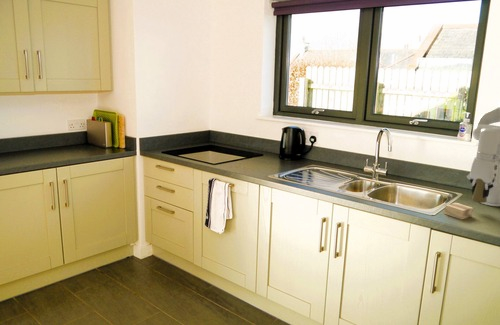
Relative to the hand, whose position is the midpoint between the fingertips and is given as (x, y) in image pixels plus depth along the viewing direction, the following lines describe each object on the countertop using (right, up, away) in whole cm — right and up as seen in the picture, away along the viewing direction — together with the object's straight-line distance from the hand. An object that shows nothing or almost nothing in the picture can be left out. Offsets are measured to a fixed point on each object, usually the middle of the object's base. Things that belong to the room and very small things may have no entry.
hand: (479, 195), depth 190 cm
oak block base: (-12, -8, -3) cm, 15 cm away
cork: (0, -2, +1) cm, 3 cm away
